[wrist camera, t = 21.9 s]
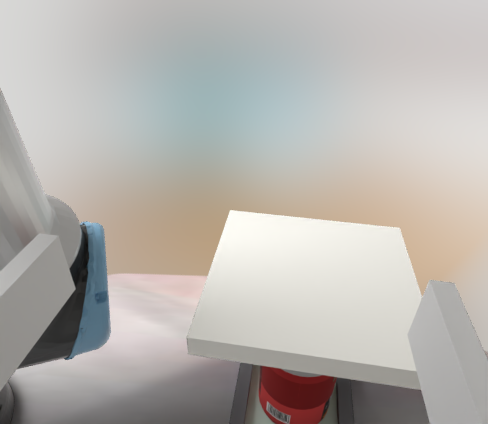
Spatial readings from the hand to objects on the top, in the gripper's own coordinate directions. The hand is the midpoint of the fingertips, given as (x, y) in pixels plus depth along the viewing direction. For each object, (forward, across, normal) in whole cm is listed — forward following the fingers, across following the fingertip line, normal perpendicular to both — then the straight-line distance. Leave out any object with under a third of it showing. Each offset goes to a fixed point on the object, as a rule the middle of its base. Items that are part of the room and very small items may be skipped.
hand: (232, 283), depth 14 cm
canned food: (+15, +4, -32) cm, 35 cm away
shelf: (+14, +4, -32) cm, 35 cm away
